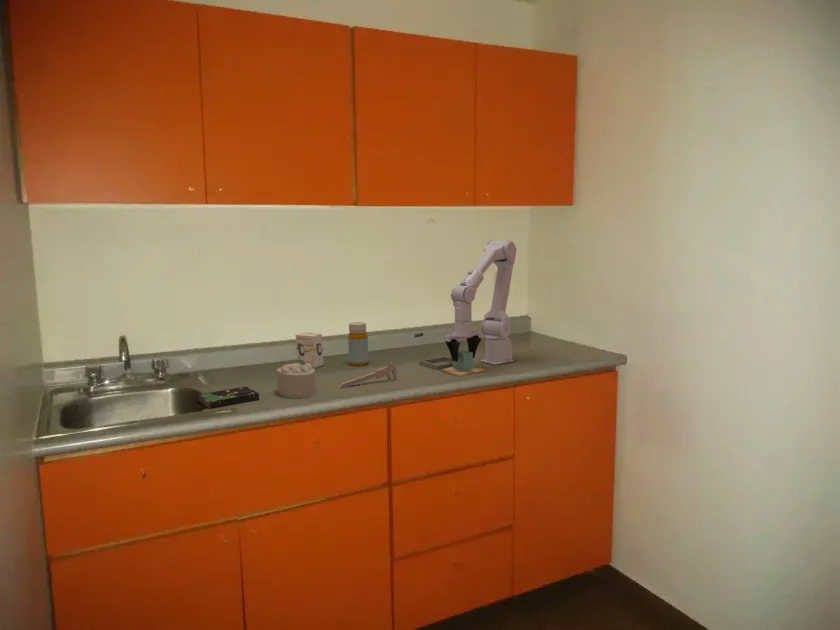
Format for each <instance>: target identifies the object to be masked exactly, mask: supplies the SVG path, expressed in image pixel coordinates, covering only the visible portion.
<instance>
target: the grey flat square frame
mask: <svg viewBox="0 0 840 630" xmlns="http://www.w3.org/2000/svg"><path fill="white" fill-rule="evenodd" d="M442 362H447V363H443V364H436V363H442ZM418 365H419V366H422V367H426V368H429V369H433V370H436V371H441V369H445V368H450V367H453V361H452V357H451V356H450V357H449V356H447V355H446V356H445V355H444V356H443V355H442V356H439V357H438V356H437V357H433V358H428V359H423V360H421V359H420V360H418Z"/></svg>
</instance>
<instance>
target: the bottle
mask: <svg viewBox="0 0 840 630" xmlns="http://www.w3.org/2000/svg"><path fill="white" fill-rule="evenodd" d="M348 330H349V333H348V337H347V338H348V339H347V343H348V344H347V345H348V363H349V365H351V366H353V367H358V366H361V367H362V366H366V365H367V364H368V363H369V343H368V342H369V339H368V337H369V336H368V333H367V323H366V322H364V321H363V322H362V321H360V322H359V321H356V322H355V321H354V322H350V323H348Z"/></svg>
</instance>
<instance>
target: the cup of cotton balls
mask: <svg viewBox="0 0 840 630" xmlns="http://www.w3.org/2000/svg"><path fill="white" fill-rule="evenodd" d="M276 385H277V386H276V387H277V388H276V390H277V394H279V395H280V396H283V397H284V398H289V399H290V398H291V399H306V397H307V398H311V397H313V396H315V395H316V393H317V388H316V385H317V384H316V370H315V368H314V367H312V366H311V364H309V363H306V364H305V365H301V364H299V363H297V362H294V363H287V364H283V365H282V366H281V367H278V368H277V369H276ZM310 396H311V397H310Z"/></svg>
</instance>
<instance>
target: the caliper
mask: <svg viewBox="0 0 840 630" xmlns="http://www.w3.org/2000/svg"><path fill="white" fill-rule="evenodd" d="M391 374H392V376H393V380H394V381H396V380H397V375H398V374H397V368H396V365H395V364H394V363H393V361H390V363H389V362H387V366H384V367H382V368H378V369H376V370H374V372H371V373H368V374H365V375H361V376H359V377H357V378H354V379H351V380H347V381H345V382H343V383H340V385H339V386H337V388H338V389H341V388H343V389H344V388H349V387H352V386H354V385H357V384H360V383H364V382H366V381H368V380H372V379H374V378H376V379H377V380H379V379H380V378H383V377H385V376H386V378H387V379H388V381H389V382H390V381H392V376H391Z"/></svg>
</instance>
